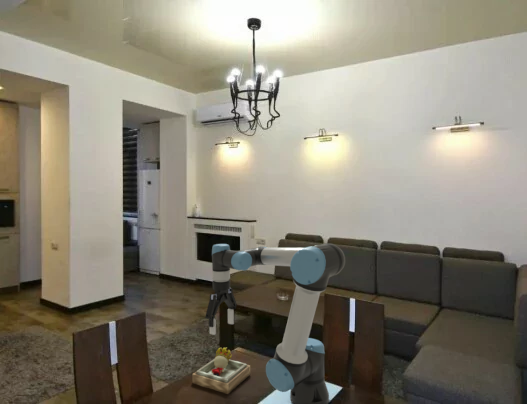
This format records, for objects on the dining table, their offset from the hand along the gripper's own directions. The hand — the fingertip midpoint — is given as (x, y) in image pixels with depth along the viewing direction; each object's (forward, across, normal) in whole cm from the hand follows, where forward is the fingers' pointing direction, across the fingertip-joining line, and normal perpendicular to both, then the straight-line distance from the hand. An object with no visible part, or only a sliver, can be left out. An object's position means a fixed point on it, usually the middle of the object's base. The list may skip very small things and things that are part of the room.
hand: (222, 328), depth 156 cm
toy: (+19, +4, -1) cm, 20 cm away
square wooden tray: (+22, 0, -1) cm, 22 cm away
